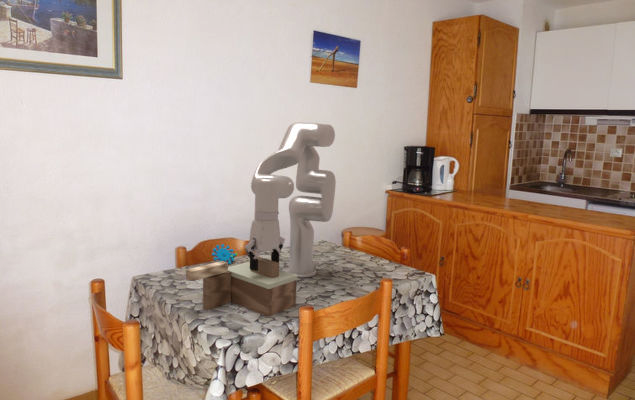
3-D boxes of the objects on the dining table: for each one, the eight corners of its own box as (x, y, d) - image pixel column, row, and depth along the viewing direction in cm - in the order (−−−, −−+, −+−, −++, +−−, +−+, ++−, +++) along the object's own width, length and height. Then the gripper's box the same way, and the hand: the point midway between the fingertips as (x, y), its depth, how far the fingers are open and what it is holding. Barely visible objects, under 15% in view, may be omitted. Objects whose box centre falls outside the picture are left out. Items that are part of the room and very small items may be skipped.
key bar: (221, 269, 156) (221, 260, 156) (227, 271, 154) (227, 262, 154) (186, 279, 145) (186, 269, 145) (191, 281, 144) (192, 271, 143)
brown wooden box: (250, 289, 171) (251, 261, 169) (295, 305, 157) (297, 275, 155) (199, 305, 153) (199, 274, 152) (245, 326, 140) (245, 292, 138)
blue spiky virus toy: (213, 263, 194) (211, 242, 200) (209, 270, 198) (208, 249, 204) (239, 264, 199) (237, 244, 205) (234, 271, 203) (232, 251, 209)
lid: (250, 265, 169) (251, 248, 168) (296, 279, 156) (297, 262, 155) (222, 272, 159) (222, 255, 158) (268, 289, 146) (269, 270, 145)
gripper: (276, 211, 162) (274, 259, 164) (238, 217, 148) (236, 269, 151) (292, 214, 157) (290, 264, 160) (254, 221, 144) (253, 275, 146)
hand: (264, 267), depth 155 cm, fingers open, 9 cm apart
